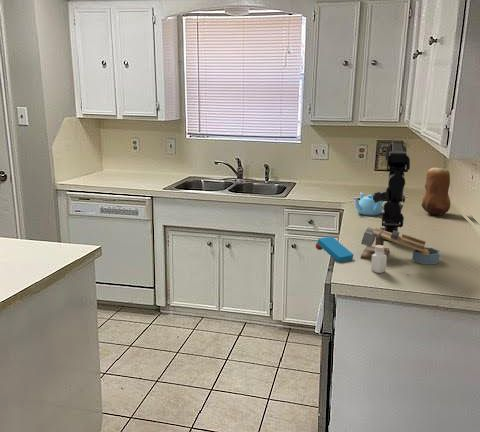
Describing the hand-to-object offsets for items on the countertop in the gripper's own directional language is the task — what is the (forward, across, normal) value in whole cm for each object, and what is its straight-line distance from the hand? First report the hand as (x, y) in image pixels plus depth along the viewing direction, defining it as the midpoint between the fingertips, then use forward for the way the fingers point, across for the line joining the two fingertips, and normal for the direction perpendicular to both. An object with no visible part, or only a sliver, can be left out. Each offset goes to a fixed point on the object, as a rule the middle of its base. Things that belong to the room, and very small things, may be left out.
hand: (393, 223), depth 191 cm
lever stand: (+12, +3, -6) cm, 14 cm away
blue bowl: (+12, +4, +13) cm, 18 cm away
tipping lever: (+10, +3, 0) cm, 11 cm away
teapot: (+14, -65, -20) cm, 70 cm away
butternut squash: (+14, -76, +14) cm, 78 cm away
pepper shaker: (+12, +22, -2) cm, 26 cm away
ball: (+10, +3, +12) cm, 16 cm away
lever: (+13, +9, -22) cm, 27 cm away
